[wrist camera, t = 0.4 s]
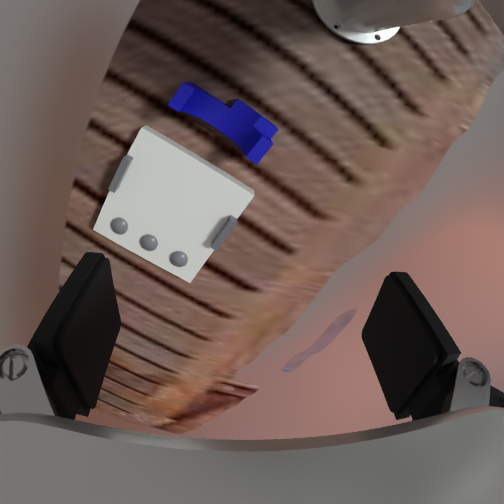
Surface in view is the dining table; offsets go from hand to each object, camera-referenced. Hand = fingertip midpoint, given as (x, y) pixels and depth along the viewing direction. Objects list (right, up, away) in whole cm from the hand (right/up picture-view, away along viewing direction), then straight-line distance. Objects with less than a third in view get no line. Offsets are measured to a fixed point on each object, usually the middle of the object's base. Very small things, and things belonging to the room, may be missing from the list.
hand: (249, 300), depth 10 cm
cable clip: (-3, +19, +26) cm, 32 cm away
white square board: (-12, +8, +32) cm, 35 cm away
